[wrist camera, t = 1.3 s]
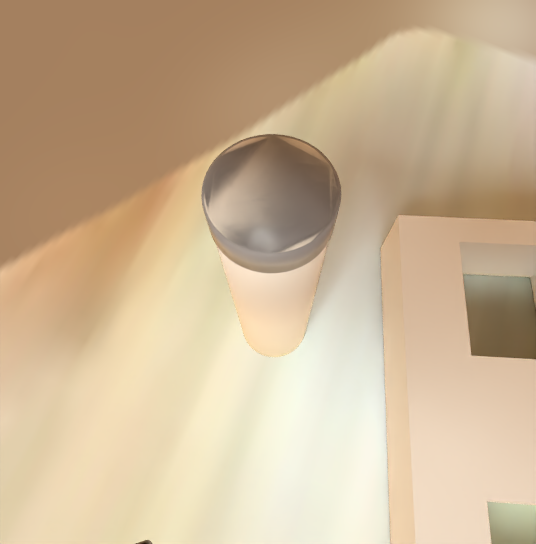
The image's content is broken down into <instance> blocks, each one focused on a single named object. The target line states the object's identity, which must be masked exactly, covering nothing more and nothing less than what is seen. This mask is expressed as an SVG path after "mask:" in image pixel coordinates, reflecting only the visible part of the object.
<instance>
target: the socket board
mask: <svg viewBox="0 0 536 544" xmlns="http://www.w3.org/2000/svg"><path fill="white" fill-rule="evenodd" d="M380 253H381V282H382V311H383V340H384V369H385V398H386V427H387V456H388V485H389V515H390V544H491V534H490V525H489V516H488V506H487V502H500V503H514V504H529V505H536V359H522V358H505V357H487V356H471V347H470V337H469V328H468V319H467V309H466V300H465V290H464V281H463V274H474V275H494V276H514V277H530V279H531V285H532V291H533V297H534V303H535V309H536V221H524V220H501V219H479V218H457V217H434V216H412V215H398V217H397V218H396V220H395V222H394V224H393V226H392V228H391V230H390V232H389V233H388V235H387V237H386V239H385V241H384V243H383V245H382V247H381V249H380Z"/></svg>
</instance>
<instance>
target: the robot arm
mask: <svg viewBox="0 0 536 544" xmlns="http://www.w3.org/2000/svg"><path fill="white" fill-rule="evenodd" d="M136 544H152V542H151V541H149V540H145V541H142V542H139V543H136Z"/></svg>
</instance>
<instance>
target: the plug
mask: <svg viewBox="0 0 536 544" xmlns="http://www.w3.org/2000/svg"><path fill="white" fill-rule="evenodd" d="M340 202H341V187H340V182H339V178H338V176H337V173H336V171H335V169H334V167H333V165H332V164H331V163H330V161H329V160H328V159H327V157H326V156H325V155H324V154H323V153H322V152H320V151H319V150H318V149H317V148H315V147H314V146H312V145H310V144H309V143H307V142H305V141H302V140H300V139H297V138H294V137H290V136H285V135H276V134H267V135H258V136H254V137H250V138H247V139H244V140H241V141H239V142H237V143H235V144H233V145H232V146H230V147H228V148H227V149H226V150H224V151H223V152H222V153H221V154H220V155H219V156H218V157H217V158H216V159H215V160H214V162H213V163H212V164H211V166H210V167H209V169H208V171H207V173H206V176H205V178H204V181H203V186H202V205H203V209H204V213H205V216H206V219H207V222H208V225H209V229H210V232H211V235H212V237H213V239H214V241H215V243H216V245H217V248H218V252H219V255H220V258H221V262H222V265H223V268H224V271H225V275H226V278H227V281H228V285H229V288H230V291H231V294H232V298H233V301H234V304H235V308H236V311H237V314H238V317H239V321H240V324H241V327H242V331H243V334H244V337H245V339H246V341H247V343H248V344H249V346H250V347H251V348H252V349H253V350H255V351H256V352H258V353H259V354H261V355H264V356H268V357H281V356H285V355H287V354H289V353H291V352H293V351H294V350H295V349H296V348H297V347H298V346H299V345H300V343H301V342H302V340H303V338H304V335H305V331H306V327H307V323H308V320H309V316H310V312H311V308H312V304H313V300H314V296H315V292H316V288H317V284H318V280H319V277H320V273H321V269H322V265H323V261H324V257H325V253H326V249H327V245H328V242H329V240H330V238H331V235H332V233H333V229H334V226H335V222H336V218H337V214H338V211H339V206H340Z"/></svg>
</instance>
